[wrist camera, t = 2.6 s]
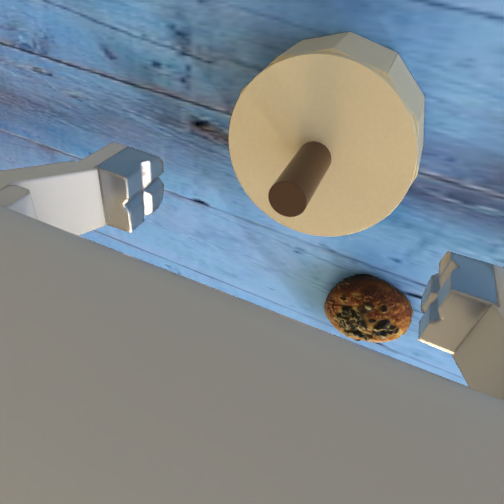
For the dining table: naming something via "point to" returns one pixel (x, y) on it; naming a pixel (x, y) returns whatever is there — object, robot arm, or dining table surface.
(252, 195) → the lid
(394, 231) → the dining table surface
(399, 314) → the bread roll
